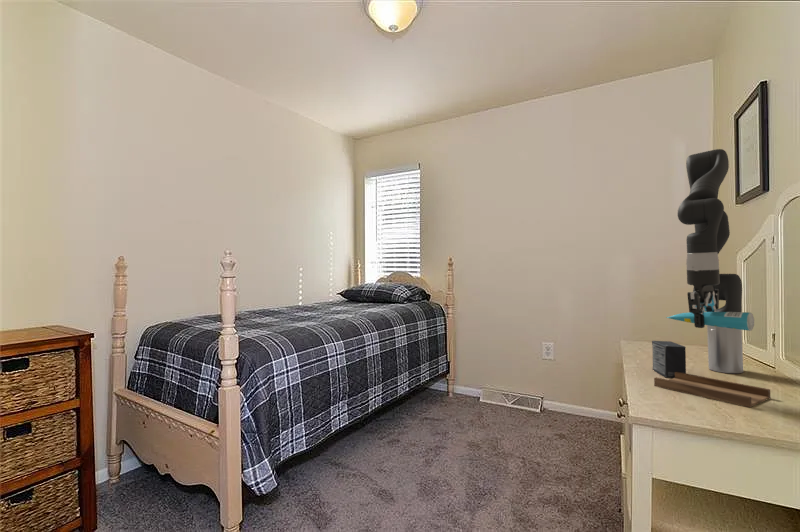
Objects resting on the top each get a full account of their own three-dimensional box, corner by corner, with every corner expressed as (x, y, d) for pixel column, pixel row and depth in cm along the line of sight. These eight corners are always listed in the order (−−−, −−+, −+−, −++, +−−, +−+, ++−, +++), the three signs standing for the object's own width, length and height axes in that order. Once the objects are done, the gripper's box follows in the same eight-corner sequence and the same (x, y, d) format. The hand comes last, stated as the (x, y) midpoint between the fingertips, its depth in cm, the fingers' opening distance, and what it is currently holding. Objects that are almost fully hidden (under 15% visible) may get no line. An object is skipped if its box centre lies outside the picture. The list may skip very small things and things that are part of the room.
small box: (688, 378, 127) (687, 346, 127) (665, 378, 129) (664, 345, 129) (672, 370, 138) (671, 340, 138) (651, 370, 139) (650, 340, 139)
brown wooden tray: (676, 379, 127) (676, 371, 127) (770, 398, 107) (770, 389, 107) (654, 385, 121) (654, 377, 121) (749, 407, 101) (749, 397, 101)
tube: (756, 330, 107) (678, 322, 124) (756, 312, 108) (677, 307, 124) (745, 331, 104) (665, 323, 120) (745, 313, 104) (665, 307, 120)
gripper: (699, 267, 122) (701, 322, 122) (675, 269, 114) (678, 327, 114) (729, 267, 115) (731, 324, 115) (706, 269, 108) (708, 331, 108)
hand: (704, 325), depth 115 cm, fingers closed on tube, 6 cm apart
